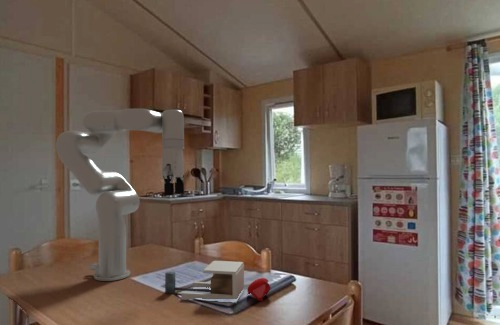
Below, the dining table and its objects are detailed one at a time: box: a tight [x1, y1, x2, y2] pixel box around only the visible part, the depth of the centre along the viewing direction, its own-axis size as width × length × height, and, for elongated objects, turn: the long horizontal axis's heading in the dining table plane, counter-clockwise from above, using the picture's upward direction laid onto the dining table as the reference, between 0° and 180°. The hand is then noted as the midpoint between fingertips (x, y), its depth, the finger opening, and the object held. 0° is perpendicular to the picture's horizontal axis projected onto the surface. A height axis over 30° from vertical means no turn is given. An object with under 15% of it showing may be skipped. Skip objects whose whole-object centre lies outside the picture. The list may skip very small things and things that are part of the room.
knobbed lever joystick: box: [164, 271, 233, 295], centre depth 112 cm, size 23×6×6 cm, turn 79°
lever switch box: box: [180, 260, 245, 301], centre depth 111 cm, size 17×11×9 cm, turn 79°
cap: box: [246, 277, 272, 302], centre depth 108 cm, size 8×6×6 cm
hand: (174, 194), depth 123 cm, fingers open, 9 cm apart
